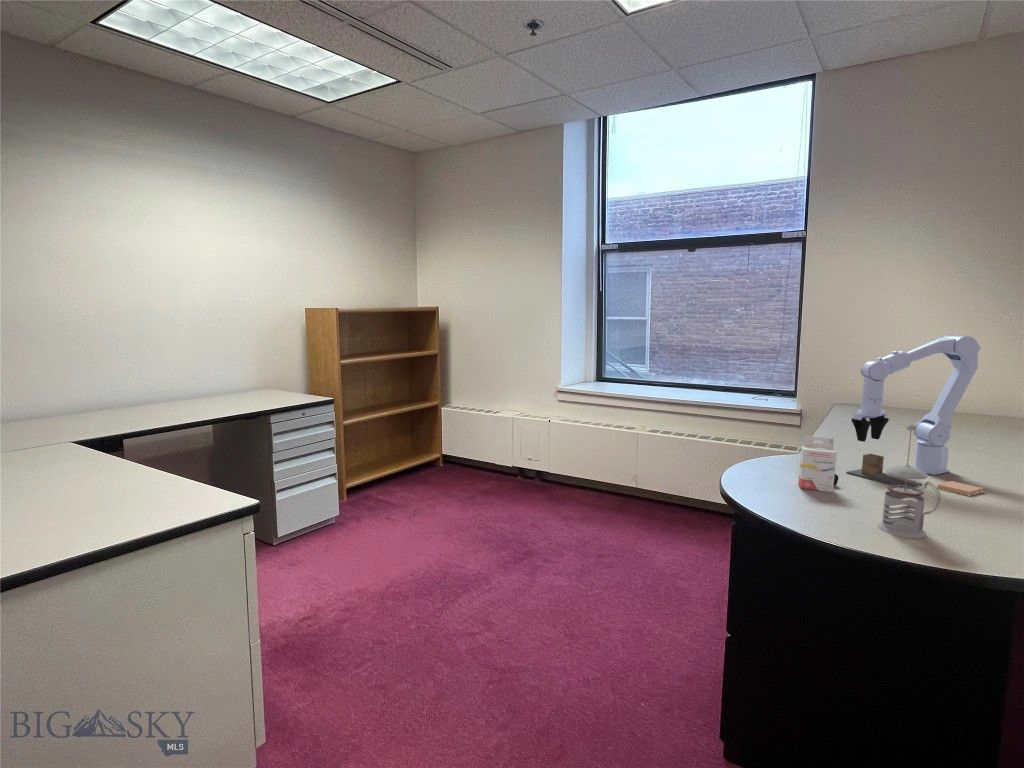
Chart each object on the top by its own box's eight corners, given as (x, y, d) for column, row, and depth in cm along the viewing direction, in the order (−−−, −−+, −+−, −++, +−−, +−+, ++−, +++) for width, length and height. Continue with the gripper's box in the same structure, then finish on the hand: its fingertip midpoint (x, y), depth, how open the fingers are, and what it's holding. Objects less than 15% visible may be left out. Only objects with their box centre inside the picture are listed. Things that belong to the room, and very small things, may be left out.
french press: (883, 519, 145) (893, 419, 142) (940, 532, 137) (952, 426, 134) (870, 529, 139) (880, 424, 136) (930, 543, 130) (941, 432, 127)
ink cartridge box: (800, 489, 170) (804, 438, 168) (798, 484, 174) (801, 435, 173) (833, 492, 167) (838, 441, 165) (830, 487, 172) (834, 437, 170)
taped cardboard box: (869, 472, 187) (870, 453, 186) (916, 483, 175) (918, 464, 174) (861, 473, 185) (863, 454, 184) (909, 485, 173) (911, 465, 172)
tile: (951, 480, 176) (983, 488, 169) (951, 486, 176) (982, 493, 169) (937, 484, 172) (969, 491, 165) (936, 490, 172) (968, 497, 165)
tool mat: (861, 470, 191) (861, 468, 191) (921, 485, 175) (921, 483, 175) (846, 473, 187) (846, 471, 187) (906, 488, 172) (906, 486, 172)
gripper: (872, 395, 198) (869, 435, 200) (846, 398, 191) (842, 439, 193) (894, 398, 192) (890, 439, 193) (868, 401, 185) (864, 443, 187)
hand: (868, 439), depth 193 cm, fingers open, 7 cm apart
